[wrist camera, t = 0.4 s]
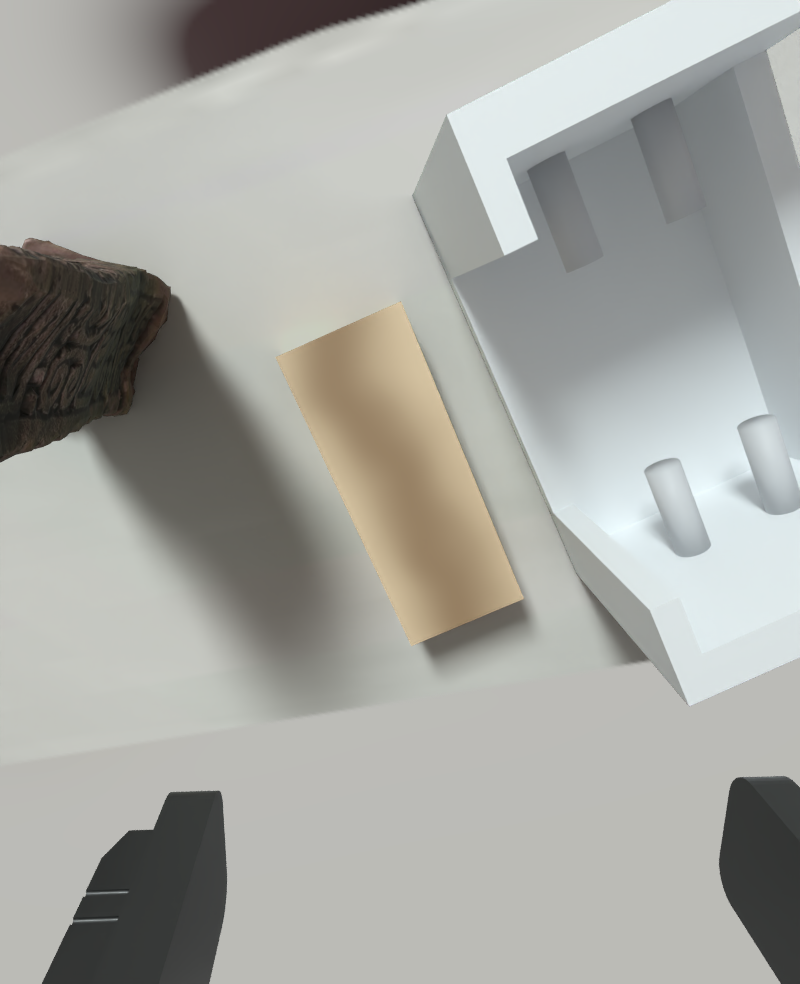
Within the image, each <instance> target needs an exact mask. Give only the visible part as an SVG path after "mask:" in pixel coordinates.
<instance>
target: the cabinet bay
mask: <svg viewBox="0 0 800 984" xmlns="http://www.w3.org/2000/svg"><path fill="white" fill-rule="evenodd" d="M799 28H800V0H671V1H670V2H668V3H666V4H664V5H662V6H660V7H658V8H656V9H654V10H652V11H650V12H648V13H646V14H644V15H642V16H640V17H638V18H636V19H634V20H632V21H630V22H628V23H626V24H624V25H622V26H620V27H618V28H616V29H614V30H612V31H610V32H608V33H606V34H605V35H603V36H601V37H599V38H597V39H595V40H593V41H591V42H589V43H587V44H585V45H583V46H581V47H579V48H577V49H575V50H573V51H571V52H569V53H567V54H565V55H563V56H561V57H559V58H557V59H555V60H553V61H551V62H549V63H547V64H545V65H543V66H542V67H540V68H538V69H536V70H534V71H532V72H530V73H528V74H526V75H524V76H522V77H520V78H518V79H516V80H514V81H512V82H510V83H508V84H506V85H504V86H502V87H500V88H498V89H496V90H494V91H492V92H490V93H488V94H486V95H484V96H482V97H480V98H479V99H477V100H475V101H473V102H471V103H469V104H467V105H465V106H463V107H461V108H459V109H457V110H455V111H453V112H451V113H449V114H447V115H446V117H445V120H444V122H443V125H442V127H441V129H440V132H439V134H438V136H437V139H436V141H435V143H434V146H433V148H432V150H431V153H430V155H429V158H428V160H427V162H426V165H425V167H424V169H423V172H422V174H421V176H420V179H419V181H418V184H417V186H416V188H415V191H414V193H413V195H412V196H413V199H414V201H415V203H416V206H417V208H418V210H419V212H420V215H421V217H422V219H423V222H424V224H425V226H426V229H427V231H428V233H429V235H430V238H431V240H432V242H433V245H434V247H435V249H436V252H437V254H438V256H439V258H440V261H441V263H442V265H443V268H444V270H445V272H446V275H447V277H448V279H449V281H450V284H451V286H452V288H453V291H454V293H455V295H456V298H457V300H458V302H459V304H460V307H461V309H462V311H463V314H464V316H465V318H466V321H467V323H468V325H469V327H470V330H471V332H472V334H473V337H474V339H475V341H476V344H477V346H478V348H479V350H480V353H481V355H482V357H483V360H484V362H485V364H486V367H487V369H488V371H489V373H490V376H491V378H492V380H493V383H494V385H495V387H496V390H497V392H498V394H499V396H500V399H501V401H502V403H503V406H504V408H505V410H506V413H507V415H508V417H509V419H510V422H511V424H512V426H513V429H514V431H515V433H516V436H517V438H518V440H519V442H520V445H521V447H522V449H523V452H524V454H525V456H526V459H527V461H528V463H529V465H530V468H531V470H532V472H533V475H534V477H535V479H536V482H537V484H538V486H539V488H540V491H541V493H542V495H543V498H544V500H545V502H546V505H547V507H548V509H549V511H550V514H551V516H552V518H553V521H554V523H555V525H556V528H557V530H558V532H559V534H560V537H561V539H562V541H563V544H564V546H565V548H566V551H567V553H568V555H569V557H570V560H571V562H572V564H573V567H574V569H575V571H576V574H577V575H578V576H579V577H580V578H581V579H582V581H583V582H584V583H585V584H586V585H587V587H588V588H589V589H590V590H591V591H592V592H593V594H594V595H595V596H596V597H597V598H598V600H599V601H600V602H601V603H602V604H603V605H604V607H605V608H606V609H607V610H608V611H609V612H610V614H611V615H612V616H613V617H614V618H615V620H616V621H617V622H618V623H619V624H620V625H621V627H622V628H623V629H624V630H625V631H626V633H627V634H628V635H629V636H630V637H631V638H632V640H633V641H634V642H635V643H636V644H637V646H638V647H639V648H640V649H641V650H642V651H643V653H644V654H645V655H646V656H647V657H648V658H649V660H650V661H651V662H652V663H653V664H654V666H655V667H656V668H657V669H658V670H659V671H660V673H661V674H662V675H663V676H664V677H665V679H666V680H667V681H668V682H669V683H670V684H671V685H672V687H673V688H674V689H675V690H676V692H677V693H678V694H679V695H680V696H681V697H682V699H683V700H684V701H685V702H686V703H687V705H688V706H692V705H694V704H696V703H699V702H701V701H703V700H705V699H707V698H710V697H712V696H714V695H716V694H719V693H721V692H723V691H726V690H728V689H730V688H732V687H734V686H737V685H739V684H741V683H744V682H746V681H748V680H750V679H753V678H755V677H757V676H759V675H762V674H764V673H766V672H768V671H770V670H773V669H775V668H777V667H780V666H782V665H784V664H786V663H788V662H791V661H793V660H795V659H798V658H800V166H799V162H798V159H797V155H796V152H795V148H794V145H793V141H792V138H791V134H790V131H789V127H788V124H787V121H786V117H785V114H784V110H783V107H782V103H781V100H780V96H779V93H778V89H777V86H776V82H775V79H774V76H773V72H772V69H771V65H770V62H769V58H768V55H767V51H766V50H767V49H769V48H770V47H772V46H773V45H775V44H776V43H778V42H779V41H781V40H782V39H784V38H785V37H787V36H788V35H790V34H791V33H793V32H794V31H796V30H797V29H799Z"/></svg>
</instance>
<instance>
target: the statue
mask: <svg viewBox="0 0 800 984" xmlns="http://www.w3.org/2000/svg"><path fill="white" fill-rule="evenodd" d="M170 289H171V287H169V286H167V285H166V284H165V283H164V282H163V281H162V280H161V279H160V278H158V277H157V276H154V275H152V274H150V273H147V272H146V270H143V269H138V268H137V267H130V266H125V265H120V264H115V263H110V262H104V261H100V260H97V259H94V258H91V257H87V256H83V255H81V254H78V253H76V252H73V251H71V250H69V249H66V248H63V247H60V246H57V245H55V244H53V243H51V242H50V241H42V240H38V239H34V238H28V239H26V240H25V241H24V244H23V246H22V248H20V247H15V246H10V247H7V246H5V245H0V462H2V461H4V460H6V459H8V458H10V457H12V456H14V455H16V454H21V453H25V452H29V451H32V450H33V449H37V448H40V447H44V446H46V445H48V444H50V443H51V442H53V441H60V440H62V439H63V438H65V437H66V436H67V435H68V434H69V433H72V432H76V431H79V430H80V429H81V427H82V426H83V425H85V424H88V423H90V422H91V421H92V420H93V419H99V418H101V417H102V416H118V415H124V414H127V413H128V411H129V409H130V406H131V403H132V399H133V395H134V393H135V390H134V387H133V384H134V380H135V375H136V371H137V366H138V362H139V358H138V357H139V355H140V354H141V353H142V352H143V351H144V350H145V349H146V348H147V347H148V346H149V345H150V344H151V343H152V342H153V341H154V339H155V337H156V335H157V333H158V330H159V329H160V327H161V326H162V325H163V324H164V323H165V322H166V321H167V315H168V304H169V298H170V296H171V290H170Z"/></svg>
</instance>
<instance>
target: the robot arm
mask: <svg viewBox="0 0 800 984" xmlns="http://www.w3.org/2000/svg"><path fill="white" fill-rule="evenodd" d="M719 867H720V875H721V880H722V884H723V888H724V891H725V893H726V896H727V898H728V900H729V902H730V904H731V906H732V907H733V909H734V911H735V912H736V914H737V915H738V917H739V918H740V920H741V921H742V923H743V925H744V926H745V928H746V929H747V931H748V933H749V934H750V936H751V937H752V939H753V940H754V942H755V943H756V945H757V947H758V948H759V950H760V951H761V953H762V955H763V956H764V957H765V959H766V961H767V962H768V964H769V966H770V967H771V969H772V970H773V972H774V973H775V975H776V977H777V978H778V980H779V981H780V983H781V984H800V787H799V786H798V785H797V784H796V783H795V782H793V780H791V779H789V778H788V777H785V776H775V777H740V778H736V779H735V780H734V781H733V782H732V784H731V787H730V791H729V797H728V803H727V811H726V817H725V823H724V831H723V837H722V844H721V850H720V858H719ZM226 868H227V867H226V851H225V834H224V817H223V802H222V796H221V792H220V791H196V792H171V793H169V795H168V796H167V798H166V800H165V803H164V805H163V807H162V810H161V812H160V815H159V817H158V820H157V822H156V825H155V827H154V830H136V831H135V830H132V831H128V832H127V833H126V834H125V836H123V837H122V838H121V839H120V840H119V841H118V842H117V843H116V844H115V845H114V846H113V847H112V849H110V850H109V852H107V853H106V854H105V855H104V856H103V857H102V859H101V861H100V863H99V865H98V867H97V869H96V871H95V873H94V875H93V878H92V880H91V882H90V884H89V886H88V888H87V890H86V896H85V897H83V898H82V901H81V903H80V905H79V907H78V909H77V911H76V913H75V915H74V917H73V924H72V925H70V926H69V928H68V930H67V932H66V934H65V936H64V938H63V941H62V942H61V945H60V947H59V949H58V951H57V953H56V955H55V957H54V959H53V961H52V963H51V966H50V968H49V970H48V972H47V974H46V976H45V978H44V980H43V982H42V984H209V982H210V977H211V973H212V968H213V964H214V960H215V955H216V951H217V946H218V942H219V937H220V933H221V928H222V924H223V918H224V912H225V904H226V892H227V869H226Z"/></svg>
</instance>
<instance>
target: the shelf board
mask: <svg viewBox="0 0 800 984" xmlns="http://www.w3.org/2000/svg"><path fill="white" fill-rule="evenodd" d="M276 359H277V361H278V363H279V366H280V368H281V370H282V372H283V374H284V376H285V378H286V380H287V383H288V385H289V387H290V389H291V391H292V393H293V395H294V397H295V400H296V402H297V404H298V406H299V408H300V410H301V412H302V414H303V417H304V419H305V421H306V423H307V425H308V427H309V429H310V431H311V434H312V436H313V438H314V440H315V442H316V444H317V446H318V448H319V451H320V453H321V455H322V457H323V459H324V461H325V463H326V465H327V468H328V470H329V472H330V474H331V476H332V478H333V480H334V482H335V485H336V487H337V489H338V491H339V493H340V495H341V497H342V499H343V502H344V504H345V506H346V508H347V510H348V512H349V514H350V516H351V518H352V521H353V523H354V525H355V527H356V529H357V531H358V533H359V535H360V538H361V540H362V542H363V544H364V546H365V548H366V550H367V552H368V555H369V557H370V559H371V561H372V563H373V565H374V567H375V569H376V572H377V574H378V576H379V578H380V580H381V582H382V584H383V586H384V589H385V591H386V593H387V595H388V597H389V599H390V601H391V603H392V606H393V608H394V610H395V612H396V614H397V616H398V618H399V620H400V623H401V625H402V627H403V629H404V631H405V633H406V635H407V637H408V640H409V642H410V644H411V646H413V645H415V644H418V643H420V642H422V641H425V640H427V639H429V638H432V637H434V636H437V635H439V634H441V633H444V632H446V631H448V630H451V629H453V628H456V627H458V626H460V625H463V624H465V623H468V622H470V621H472V620H475V619H477V618H479V617H482V616H484V615H487V614H489V613H491V612H494V611H496V610H498V609H501V608H503V607H506V606H508V605H510V604H513V603H515V602H518V601H520V600H522V599H524V598H523V595H522V593H521V590H520V588H519V586H518V583H517V581H516V578H515V576H514V573H513V571H512V569H511V566H510V564H509V561H508V559H507V557H506V554H505V552H504V549H503V547H502V544H501V542H500V540H499V537H498V535H497V532H496V530H495V528H494V525H493V523H492V520H491V518H490V515H489V513H488V511H487V508H486V506H485V503H484V501H483V498H482V496H481V494H480V491H479V489H478V486H477V484H476V482H475V479H474V477H473V474H472V472H471V469H470V467H469V465H468V462H467V460H466V457H465V455H464V453H463V450H462V448H461V445H460V443H459V440H458V438H457V436H456V433H455V431H454V428H453V426H452V424H451V421H450V419H449V416H448V414H447V411H446V409H445V407H444V404H443V402H442V399H441V397H440V394H439V392H438V390H437V387H436V385H435V382H434V380H433V378H432V375H431V373H430V370H429V368H428V365H427V363H426V361H425V358H424V356H423V353H422V351H421V349H420V346H419V344H418V341H417V339H416V336H415V334H414V332H413V329H412V327H411V324H410V322H409V319H408V317H407V315H406V312H405V310H404V307H403V305H402V303H401V302H399V303H396V304H394V305H392V306H389V307H387V308H385V309H383V310H381V311H378V312H376V313H374V314H372V315H369V316H367V317H365V318H363V319H360V320H358V321H356V322H354V323H351V324H349V325H347V326H345V327H342V328H340V329H338V330H336V331H333V332H331V333H329V334H327V335H324V336H322V337H320V338H318V339H316V340H313V341H311V342H309V343H307V344H304V345H302V346H300V347H298V348H295V349H293V350H291V351H289V352H286V353H284V354H282V355H280V356H277V357H276Z"/></svg>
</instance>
